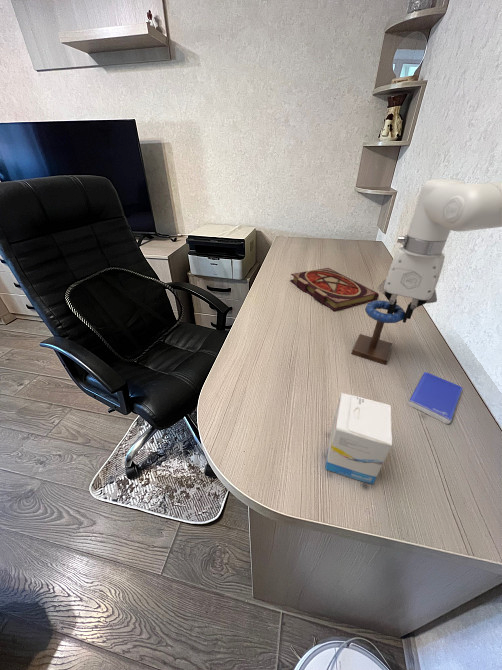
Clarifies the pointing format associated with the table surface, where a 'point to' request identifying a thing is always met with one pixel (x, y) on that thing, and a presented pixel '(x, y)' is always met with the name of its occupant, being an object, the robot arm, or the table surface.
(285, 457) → the table surface
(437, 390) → the hard drive
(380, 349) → the stand
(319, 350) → the table surface
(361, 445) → the ink box
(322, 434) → the table surface
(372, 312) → the blue teething ring
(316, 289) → the book
